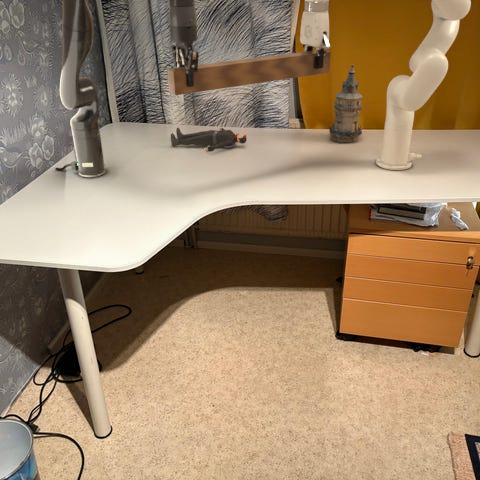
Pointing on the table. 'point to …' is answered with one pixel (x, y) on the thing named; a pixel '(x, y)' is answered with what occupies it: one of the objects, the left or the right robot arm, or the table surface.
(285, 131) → the table surface
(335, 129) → the miniature building
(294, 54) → the post
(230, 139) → the toy
